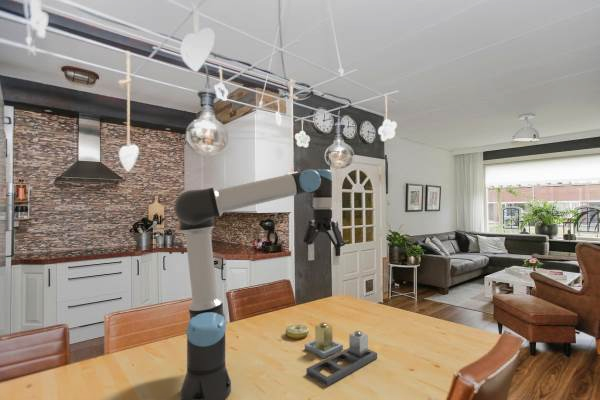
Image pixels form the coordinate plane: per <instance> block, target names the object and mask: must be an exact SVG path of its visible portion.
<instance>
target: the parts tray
mask: <svg viewBox="0 0 600 400" xmlns="http://www.w3.org/2000/svg"><path fill="white" fill-rule="evenodd" d="M332 346H333V348H331V349H329V350H327V351H325V352H323V351H321V350H319V349H317V348H315V339H314V340H312V341H309V342H306V343H305V344H304V349H305V350H306V351H308V352H310V353H312V354H314V355H316V356H318V357H320V358H322V359H323V360H325V359H327V358H329V357H331V356H333V355H335V354H338V353H340V352H342V351H344V344H342V343H340V342H337V341H335V340H333V339H332Z"/></svg>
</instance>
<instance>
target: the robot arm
mask: <svg viewBox="0 0 600 400" xmlns="http://www.w3.org/2000/svg"><path fill="white" fill-rule="evenodd" d="M301 194H309V195H310V194H312V195H313V196H312V199H313V200H312V201H313V202H312V203H313V206H312V207H313V208H314V209H313V210H312V216H313V219H312V220H309V221H308V226H307V229H306V232H305V235H304V237H303V242H304V243H306V245H307V246H306V248H307V249H306V251H307V255H308V256H307V260H308V261H314V260H315V243H314V242H315V240H316V238H317V237H318V235H319V233H325V234H326V235H327V236H328V239H329V240H330V241H331V244H332V245H333V247H332V266H337V265H340V256H341V248H342V247H344V246H345V245H346V244H345V242H344V238H343V236H342V234H341V230H340V228H339V222H338V220H335V221H332V219H333V209H332V207H333V175H332V171H331V170H330V169H328V168H327V169H326V168H325V169H323V168H321V169H320V168H319V169H305V170H301V171H299V172H295V173H290V174H289V173H287V174H285V175H279V176H275V177H269V178H266V179H265V178H264V179H261V180H257V181H252V182H247V183H241V184H239V185H234V186H233V185H232V186H229V187H224V188H220V189H217V188H216V187H210V188H204V189H190V190H186V191H184V192H182V193H181V194H179V196H178V197H177V198H176V199H175V202H174V205H173V206H174V208H173V209H174V213H175V216H176V217H177V220H178V222H179V229H180V230H179V231H180V232H181V233H182V234H184V236H185V243H186V244H185V245H186V252H187V263H188V271H189V280H190V281H189V282H190V288H191V298H192V302H191V303H190V305H189V306H188V313H189V321H188V323H187V328H186V330H185V331H186V373H185V376H184V379H183V383H182V386H181V388H180V399H181V400H226V399H227V398H228V397H229V396H230V394H231V391H232V382H231V379H230V378H231V377H230V375H229V372H228V370H227V366H226V330H227V326H226V316H225V313H224V306H223V300H222V298H221V297H219V296H218V289H217V280H216V272H215V270H216V269H215V262H214V261H215V260H214V253H213V244H212V243H213V242H212V234H211V231H212V230H213V229H214V228H215V223H214V222H215V221H214V219H215V218H218V217H221V216H222V215H223V213H226V212H227V213H228V212H230V211H234V210H239V209H243V208H247V207H251V206H256V205H260V204H263V203H268V202H272V201H277V200H280V199H285V198H288V197H293V196H297V195H301Z"/></svg>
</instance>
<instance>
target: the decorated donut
mask: <svg viewBox="0 0 600 400" xmlns="http://www.w3.org/2000/svg"><path fill="white" fill-rule="evenodd" d="M309 333H310V329H309V327H307V326H306V325H304V324H301V323H296V324H291V325H289V326H287V327H286V328H285V334H286V336H287V337H288V338H290V339H293V340H294V339H295V340H300V339H304V338H306V337H307V336H308V334H309Z"/></svg>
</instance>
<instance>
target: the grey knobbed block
mask: <svg viewBox="0 0 600 400" xmlns="http://www.w3.org/2000/svg"><path fill="white" fill-rule="evenodd" d="M348 335H349V338H348V339H349V345H348V346H349V348H350V354H351V355H353V356H355V357H357V358H360V359H361V358H363V357H365V356H367V355H368V349H369V336H368V334H367V333H364V332H362V330H361V331H360V330H356V331H354V332H352V333H350V334H348Z"/></svg>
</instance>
